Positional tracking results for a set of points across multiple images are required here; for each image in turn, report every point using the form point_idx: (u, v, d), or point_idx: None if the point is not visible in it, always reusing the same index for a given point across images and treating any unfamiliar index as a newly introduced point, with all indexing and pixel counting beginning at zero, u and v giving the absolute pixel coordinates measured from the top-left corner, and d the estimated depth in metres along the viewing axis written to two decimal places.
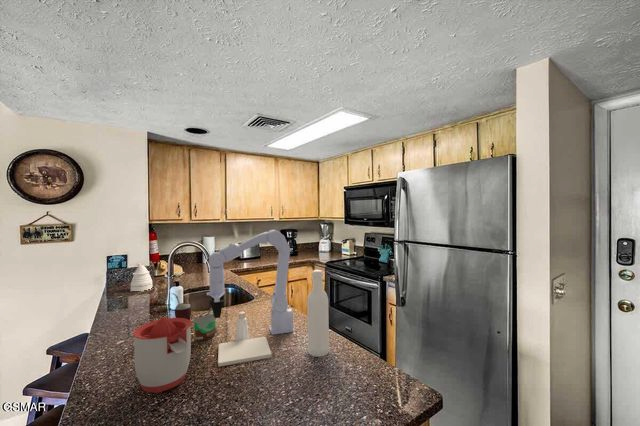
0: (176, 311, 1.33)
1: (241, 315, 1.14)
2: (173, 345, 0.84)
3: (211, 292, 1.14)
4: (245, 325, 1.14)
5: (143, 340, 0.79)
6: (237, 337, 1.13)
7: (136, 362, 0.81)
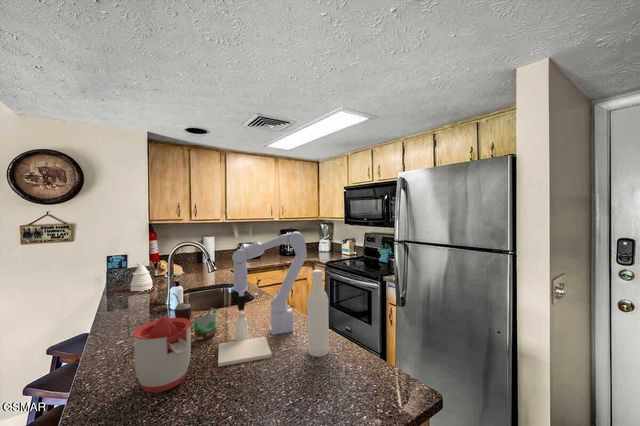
0: (176, 311, 1.33)
1: (241, 315, 1.14)
2: (173, 345, 0.84)
3: (235, 287, 1.20)
4: (245, 325, 1.14)
5: (143, 340, 0.79)
6: (237, 337, 1.13)
7: (136, 362, 0.81)
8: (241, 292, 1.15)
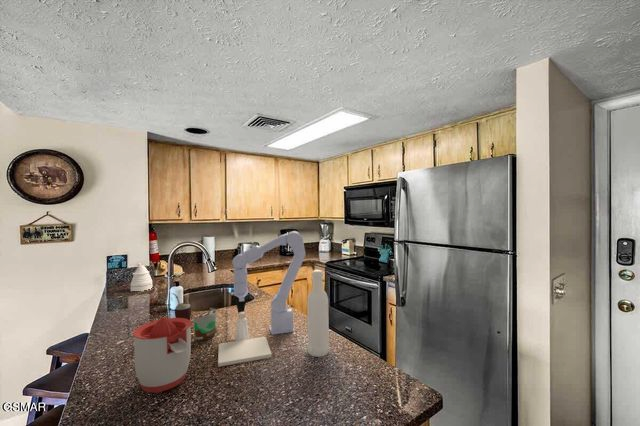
0: (176, 311, 1.33)
1: (241, 315, 1.14)
2: (173, 345, 0.84)
3: (235, 292, 1.20)
4: (245, 325, 1.14)
5: (143, 340, 0.79)
6: (237, 337, 1.13)
7: (136, 362, 0.81)
8: (241, 297, 1.15)
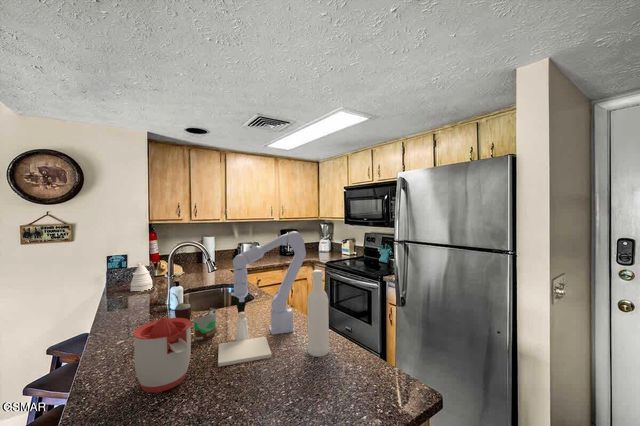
0: (176, 311, 1.33)
1: (241, 315, 1.14)
2: (173, 345, 0.84)
3: (235, 292, 1.19)
4: (245, 325, 1.14)
5: (143, 340, 0.79)
6: (237, 337, 1.13)
7: (136, 362, 0.81)
8: (241, 298, 1.15)
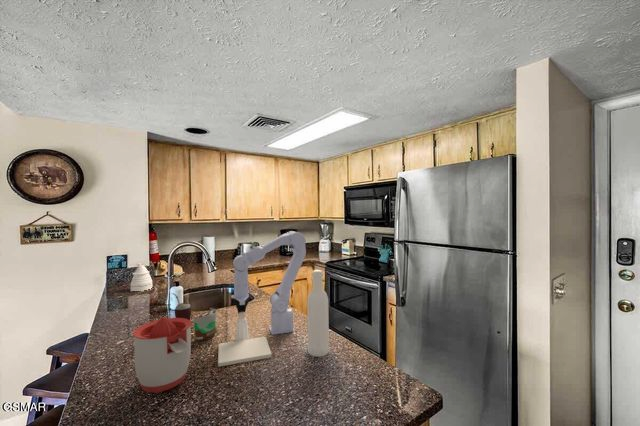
0: (176, 311, 1.33)
1: (241, 315, 1.14)
2: (173, 345, 0.84)
3: (236, 295, 1.15)
4: (245, 325, 1.14)
5: (143, 340, 0.79)
6: (237, 337, 1.13)
7: (136, 362, 0.81)
8: (242, 301, 1.11)
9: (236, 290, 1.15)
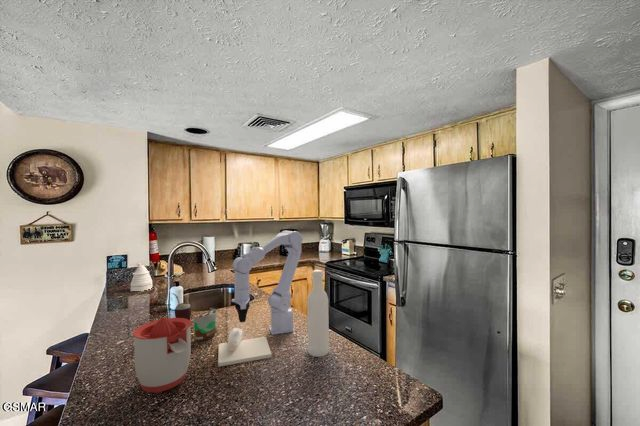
0: (176, 311, 1.33)
1: None
2: (173, 345, 0.84)
3: (236, 299, 1.10)
4: (239, 339, 1.07)
5: (143, 340, 0.79)
6: None
7: (136, 362, 0.81)
8: (243, 305, 1.06)
9: (237, 293, 1.10)
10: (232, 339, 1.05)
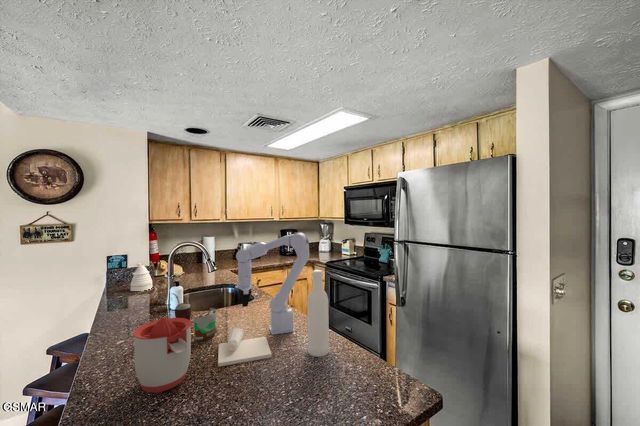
0: (176, 311, 1.33)
1: None
2: (173, 345, 0.84)
3: (240, 285, 1.22)
4: (239, 339, 1.07)
5: (143, 340, 0.79)
6: None
7: (136, 362, 0.81)
8: (245, 290, 1.18)
9: (240, 280, 1.22)
10: (232, 339, 1.05)
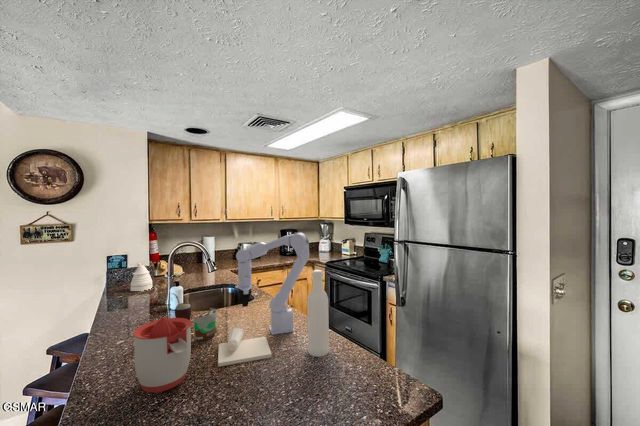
0: (176, 311, 1.33)
1: None
2: (173, 345, 0.84)
3: (240, 285, 1.22)
4: (239, 339, 1.07)
5: (143, 340, 0.79)
6: None
7: (136, 362, 0.81)
8: (245, 290, 1.18)
9: (240, 280, 1.22)
10: (232, 339, 1.05)
